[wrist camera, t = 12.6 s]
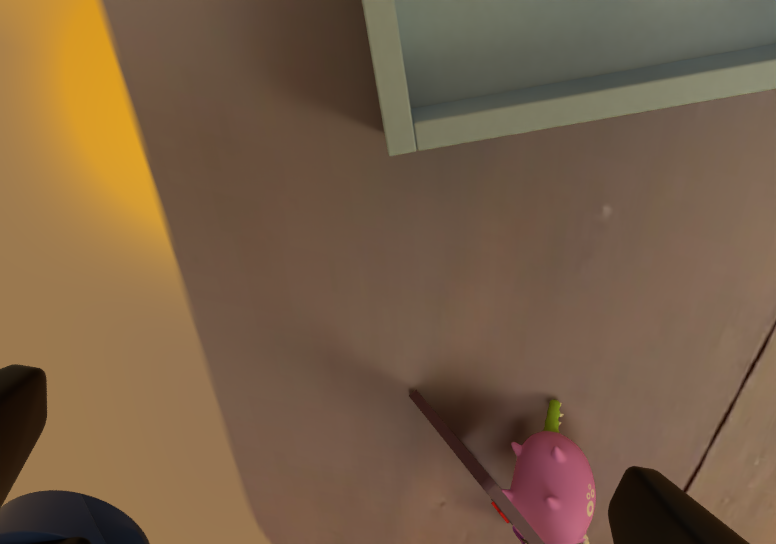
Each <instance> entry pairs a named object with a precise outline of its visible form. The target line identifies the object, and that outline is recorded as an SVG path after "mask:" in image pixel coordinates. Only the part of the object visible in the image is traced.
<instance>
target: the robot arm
mask: <svg viewBox="0 0 776 544" xmlns="http://www.w3.org/2000/svg"><path fill="white" fill-rule="evenodd" d="M46 387H47V386H46V375H45V372H44V371H43V370H42V369H40V368H36V367H30V366H23V365H10V366H7V367H5V368H2V369H0V508H1V506H2V504H3V503H4V500H5V499H6V497H7V495H8V493H9V492H10V490H11V488H12V486H13V484H14V482H15V481H16V479H17V477H18V475H19V473H20V471H21V470H22V468H23V466H24V464H25V462H26V460H27V459H28V457H29V455H30V453H31V451H32V449H33V448H34V446H35V444H36V442H37V440H38V438H39V437H40V435H41V433H42V431H43V428H44V426H45V423H46V418H47V388H46ZM608 518H609V523H610V528H611V532H612V537H613V542H614V544H749V543H748V542H747V541H746V540H744V539H743V538H742V537H741V536H739V535H738V534H737V533H735V532H734V531H733V530H732V529H730V528H729V527H728V526H727V525H725V524H724V523H723V522H722V521H720V520H719V519H718V518H716V517H715V516H714V515H713V514H711V513H710V512H709V511H708V510H706V509H705V508H704V507H703V506H701V505H700V504H699V503H698V502H696V501H695V500H694V499H692V498H691V497H690V496H689V495H687V494H686V493H685V492H684V491H682V490H681V489H680V488H679V487H677V486H676V485H675V484H673V483H672V482H671V481H670V480H668V479H667V478H666V477H665V476H663V475H662V474H661V473H660V472H658V471H656V470H654V469H649V468H643V467H637V466H632V467H629V468H628V469H627V470H626V471H625V473H624V475H623V477H622V479H621V481H620V483H619V485H618V487H617V489H616V491H615V493H614V495H613V497H612V499H611V501H610V504H609V509H608ZM30 544H92V543H91V542H90V541H89V540H88V539H86V538H84V537H71V538H65V539H58V540H51V541H44V542H37V543H30Z"/></svg>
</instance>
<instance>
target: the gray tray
mask: <svg viewBox="0 0 776 544" xmlns="http://www.w3.org/2000/svg"><path fill="white" fill-rule="evenodd" d="M362 5H363V11H364V17H365V23H366V28H367V34H368V40H369V46H370V52H371V57H372V63H373V69H374V75H375V81H376V87H377V92H378V98H379V104H380V110H381V116H382V121H383V127H384V133H385V139H386V145H387V151H388V155H389V156H394V155H400V154H406V153H412V152H415V151H416V150H418V151H422V150H428V149H434V148H439V147H445V146H451V145H457V144H462V143H468V142H474V141H480V140H485V139H491V138H497V137H503V136H508V135H514V134H520V133H526V132H531V131H537V130H543V129H549V128H554V127H560V126H566V125H572V124H577V123H583V122H589V121H595V120H600V119H606V118H612V117H618V116H623V115H629V114H635V113H641V112H646V111H652V110H658V109H664V108H669V107H675V106H681V105H687V104H692V103H698V102H704V101H710V100H715V99H721V98H727V97H733V96H738V95H744V94H750V93H756V92H761V91H767V90H773V89H776V0H362Z"/></svg>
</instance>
